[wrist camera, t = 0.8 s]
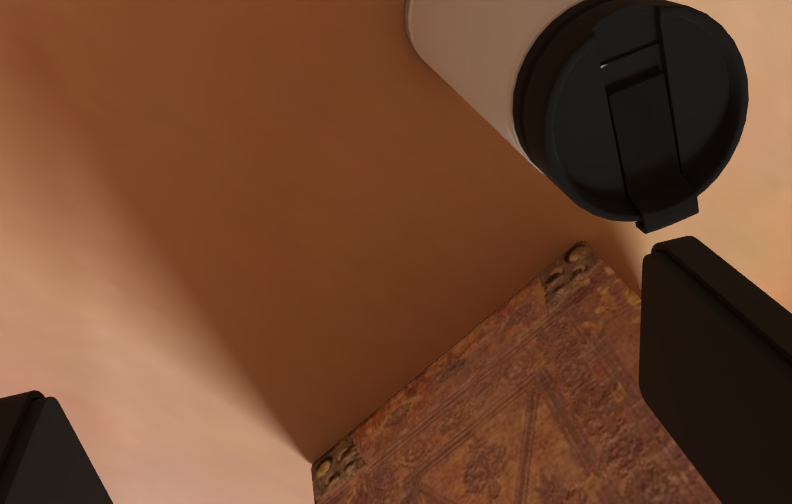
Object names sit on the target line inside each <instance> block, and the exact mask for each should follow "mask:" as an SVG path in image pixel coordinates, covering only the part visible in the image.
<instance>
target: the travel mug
mask: <svg viewBox="0 0 792 504" xmlns="http://www.w3.org/2000/svg"><path fill="white" fill-rule="evenodd" d="M404 13H405V27H406V32H407V36H408V38H409V41H410V43H411V45H412V47H413V49H414V50H415V52H416V53H417V54H418V56H419V57H420V58H421V59H422V60H423V61H424V62H426V63H427V64H428V65H429V66H430V67H431V68H432V69H433V70H434V71H435V72H436V73H437V74H438V75H439V76H440V77H441V78H442V79H443V80H444V81H445V82H446V83H447V84H448V85H449V86H450V87H452V88H453V89H454V90H455V91H456V92H457V93H458V94H459V95H460V96H461V97H462V98H463V99H464V100H465V101H466V102H467V103H468V104H469V105H470V106H471V107H472V108H473V109H474V110H476V111H477V112H478V113H479V114H480V115H481V116H482V117H483V118H484V119H485V120H486V121H487V122H488V123H489V124H490V125H491V126H492V127H493V128H494V129H495V130H496V131H497V132H498V133H499V134H501V135H502V136H503V137H504V138H505V139H506V140H507V141H508V142H509V143H510V144H511V145H512V146H513V147H514V148H515V149H516V150H517V151H518V152H519V153H520V154H521V155H522V156H524V157H525V158H526V159H527V160H528V161H529V162H530V163H531V164H532V165H533V166H534V167H535V168H536V169H537V170H538V171H539V172H541V173H542V174H544V175H546V176H547V177H548V178H549V179H550V180H551V181H552V182H553V183H554V184H555V185H556V186H558V187H559V188H560V189H561V190H562V191H563V192H564V193H565V194H566V195H567V196H568V197H569V198H570V199H571V200H572V201H573V202H574V203H575V204H577V205H578V206H579V207H581V208H583V209H584V210H586V211H588V212H590V213H591V214H593V215H596V216H599V217H602V218H605V219H609V220H614V221H625V222H628V221H637V222H635V223H636V227H637V228H639V229H640V230H641V231H642V232H643V233H645V234H647V233H650V232H653V231H656V230H659V229H661V228H664V227H667V226H669V225H672V224H674V223H676V222H679V221H681V220H683V219H686V218H688V217H690V216H692V215H695V214H697V213H698V212H699V209H698V200H697V196H698V195H699V194H701V193H702V192H703V191H705V190H706V189H707V188H708V187H709V186H710V185H711V184H712V183H713V182H714V181H715V180H716V179H717V178H718V176H719V175H720V173H721V172H722V171H723V169H724V168H725V166H726V165H727V164H728V162H729V161H730V159H731V157H732V155H733V153H734V151H735V149H736V147H737V145H738V143H739V141H740V138H741V134H742V131H743V128H744V125H745V122H746V115H747V108H748V100H749V98H748V78H747V74H746V70H745V66H744V62H743V58H742V56H741V54H740V52H739V50H738V48H737V46H736V44H735V42H734V40H733V39H732V38H731V36H730V35H729V34H728V33H727V31H726V30H725V29H724V28H723V27H722V25H720V24H719V23H718V22H716V21H715V20H714V19H712V18H711V17H710V16H708V15H707V14H706V13H703V12H701V11H699V10H696V9H694V8H692V7H689V6H686V5H682V4H678V3H674V2H671V1H667V0H406V5H405V12H404Z"/></svg>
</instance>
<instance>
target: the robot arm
mask: <svg viewBox="0 0 792 504" xmlns="http://www.w3.org/2000/svg"><path fill="white" fill-rule="evenodd" d="M639 388H640V392H641V395H642V397H643V399H644V401H645V402H646V404H647V405H648V407H649V408H650V409H651V411H652V412H653V413H654V415H655V416H656V417H657V419H658V420H659V421H660V422H661V424H662V425H663V426H664V428H665V429H666V430H667V432H668V433H669V434H670V436H671V437H672V438H673V440H674V441H675V442H676V443H677V445H678V446H679V447H680V449H681V450H682V451H683V453H684V454H685V455H686V457H687V458H688V459H689V461H690V462H691V463H692V465H693V466H694V467H695V468H696V470H697V471H698V472H699V474H700V475H701V476H702V478H703V479H704V480H705V482H706V483H707V484H708V486H709V487H710V488H711V489H712V491H713V492H714V493H715V495H716V496H717V497H718V499H719V500H720V501H721V503H722V504H792V314H791V313H790V312H789V311H788V310H786V309H785V308H784V307H782V306H781V305H780V304H779V303H777V302H776V301H775V300H774V299H772V298H771V297H770V296H769V295H767V294H766V293H765V292H764V291H762V290H761V289H760V288H759V287H757V286H756V285H755V284H753V283H752V282H751V281H750V280H748V279H747V278H746V277H745V276H743V275H742V274H741V273H740V272H738V271H737V270H736V269H735V268H733V267H732V266H731V265H729V264H728V263H727V262H726V261H724V260H723V259H722V258H721V257H719V256H718V255H717V254H716V253H714V252H713V251H712V250H711V249H709V248H708V247H707V246H706V245H704V244H703V243H702V242H700V241H699V240H698V239H697V238H695V237H693V236H685V237H681V238H677V239H672V240H668V241H664V242H660V243H656V244H655V245H654V246H653V248H652V250H651V254H648V255H646V256H645V257H644V259H643V264H642V293H641V322H640V351H639ZM0 504H113V502H112V500H111V499H110V497H109V495H108V493H107V491H106V489H105V487H104V486H103V484H102V482H101V480H100V478H99V476H98V474H97V473H96V471H95V469H94V467H93V465H92V463H91V461H90V460H89V458H88V456H87V454H86V452H85V450H84V448H83V446H82V445H81V443H80V441H79V439H78V437H77V435H76V433H75V432H74V430H73V428H72V426H71V424H70V422H69V420H68V419H67V417H66V415H65V413H64V411H63V409H62V407H61V406H60V404H59V402H58V401H57V399H55V398H54V397H46V398H45V397H44V395H43V394H42V393H40V392H39V391H35V390H34V391H30V392H25V393H21V394H17V395H13V396H8V397H4V398H0Z"/></svg>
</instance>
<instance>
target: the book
mask: <svg viewBox="0 0 792 504" xmlns="http://www.w3.org/2000/svg"><path fill="white" fill-rule="evenodd" d="M640 322H641V299H640V298H639V296H638V295H637V294H636V293H635V292H634V291H633V290H632V289H631V288H630V287H629V286H628V285H627V284H626V283H625V282H624V281H623V280H622V279H621V278H620V277H619V276H618V275H617V274H616V273H615V272H614V271H613V270H612V268H611V267H610V266H609V265H608V264H607V263H606V262H605V261H604V260H603V259H602V258H601V257H600V256H599V255H598V254H597V253H596V252H595V251H594V250H593V249H592V248H591V247H590V246H589V245H588V244H587V243H586V242H585V241H581V242H579V243H577V244H575V245H574V246H573V247H571V248H570V249H569V250H568V251H567V252H565V253H564V254H563V255H562V256H561V257H559V258H558V259H557V260H556V261H555V262H553V263H552V264H551V265H550V266H549V267H547V268H546V269H545V270H544V271H543V272H541V273H540V274H539V275H538V276H537V277H536V278H534V279H533V280H532V281H531V282H530V283H528V284H527V285H526V286H525V287H524V288H522V289H521V290H520V291H519V292H518V293H516V294H515V295H514V296H513V297H512V298H510V299H509V300H508V301H507V302H506V303H504V304H503V305H502V306H501V307H500V308H499V309H497V310H496V311H495V312H494V313H493V314H491V315H490V316H489V317H488V318H487V319H485V320H484V321H483V322H482V323H481V324H479V325H478V326H477V327H476V328H475V329H473V330H472V331H471V332H470V333H469V334H468V335H466V336H465V337H464V338H463V339H462V340H460V341H459V342H458V343H457V344H456V345H454V346H453V347H452V348H451V349H450V350H448V351H447V352H446V353H445V354H444V355H442V356H441V357H440V358H439V359H438V360H436V361H435V362H434V363H433V364H432V365H431V366H429V367H428V368H427V369H426V370H425V371H423V372H422V373H421V374H420V375H419V376H417V377H416V378H415V379H414V380H413V381H411V382H410V383H409V384H408V385H407V386H405V387H404V388H403V389H402V390H401V391H400V392H398V393H397V394H396V395H395V396H394V397H392V398H391V399H390V400H389V401H388V402H386V403H385V404H384V405H383V406H382V407H380V408H379V409H378V410H377V411H376V412H374V413H373V414H372V415H371V416H370V417H368V418H367V419H366V420H365V421H364V422H363V423H361V424H360V425H359V426H358V427H357V428H355V429H354V430H353V431H352V432H351V433H349V434H348V435H347V436H346V437H345V438H343V439H342V440H341V441H340V442H339V443H337V444H336V445H335V446H334V447H333V448H331V449H330V450H329V451H328V452H327V453H326V454H324V455H323V456H322V457H321V458H320V459H318V460H317V461H316V462H315V463H314V464H312V468H311V472H312V481H313V491H314V500H315V504H722V503H721V501H720V500H719V499H718V497H717V496H716V495H715V493H714V492H713V491H712V489H711V488H710V487H709V486H708V484H707V483H706V482H705V480H704V479H703V478H702V476H701V475H700V474H699V472H698V471H697V470H696V468H695V467H694V466H693V465H692V463H691V462H690V461H689V459H688V458H687V457H686V455H685V454H684V453H683V451H682V450H681V449H680V447H679V446H678V445H677V443H676V442H675V441H674V440H673V438H672V437H671V436H670V434H669V433H668V432H667V430H666V429H665V428H664V426H663V425H662V424H661V422H660V421H659V420H658V419H657V417H656V416H655V415H654V413H653V412H652V411H651V409H650V408H649V407H648V405H647V404H646V402H645V401H644V399H643V397H642V395H641V392H640V388H639V351H640Z"/></svg>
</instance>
